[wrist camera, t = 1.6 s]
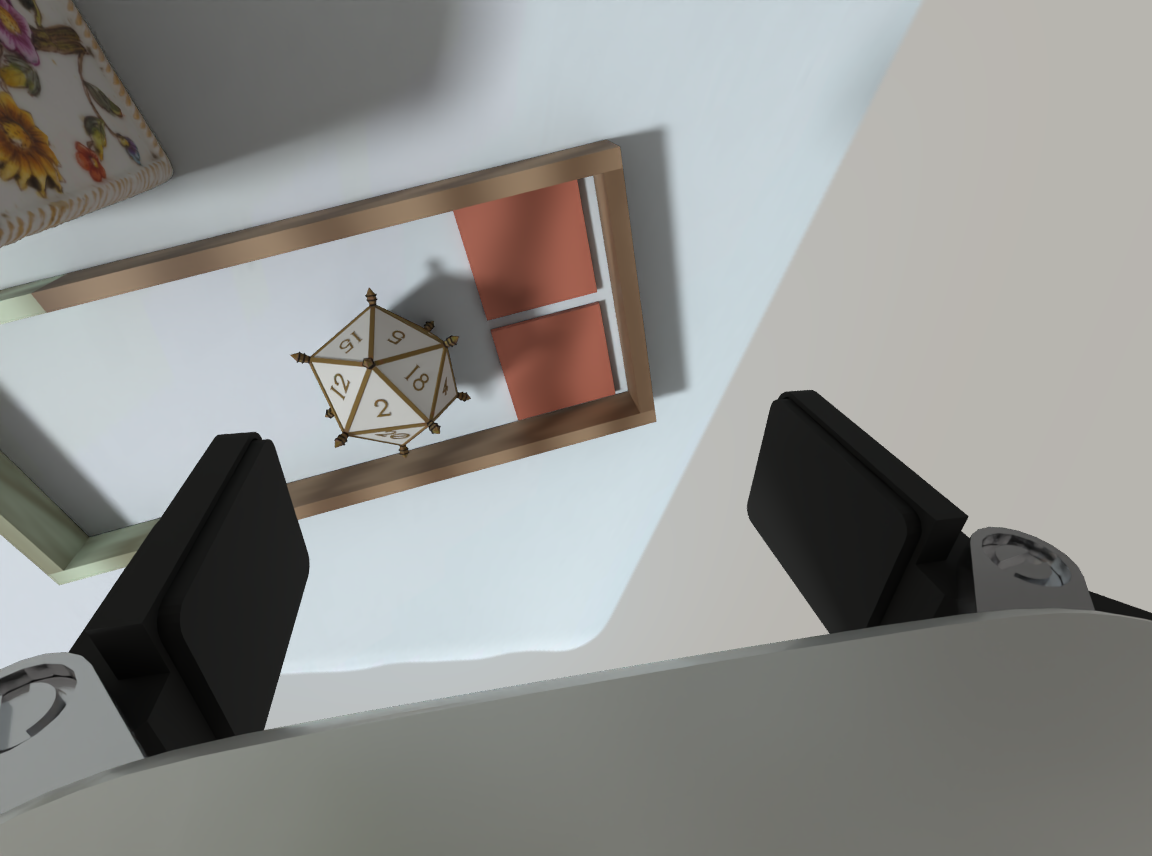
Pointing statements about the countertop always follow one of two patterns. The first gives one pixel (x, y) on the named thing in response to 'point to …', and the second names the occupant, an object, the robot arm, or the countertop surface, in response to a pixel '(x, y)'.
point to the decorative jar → (64, 123)
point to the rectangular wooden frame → (506, 286)
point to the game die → (385, 377)
